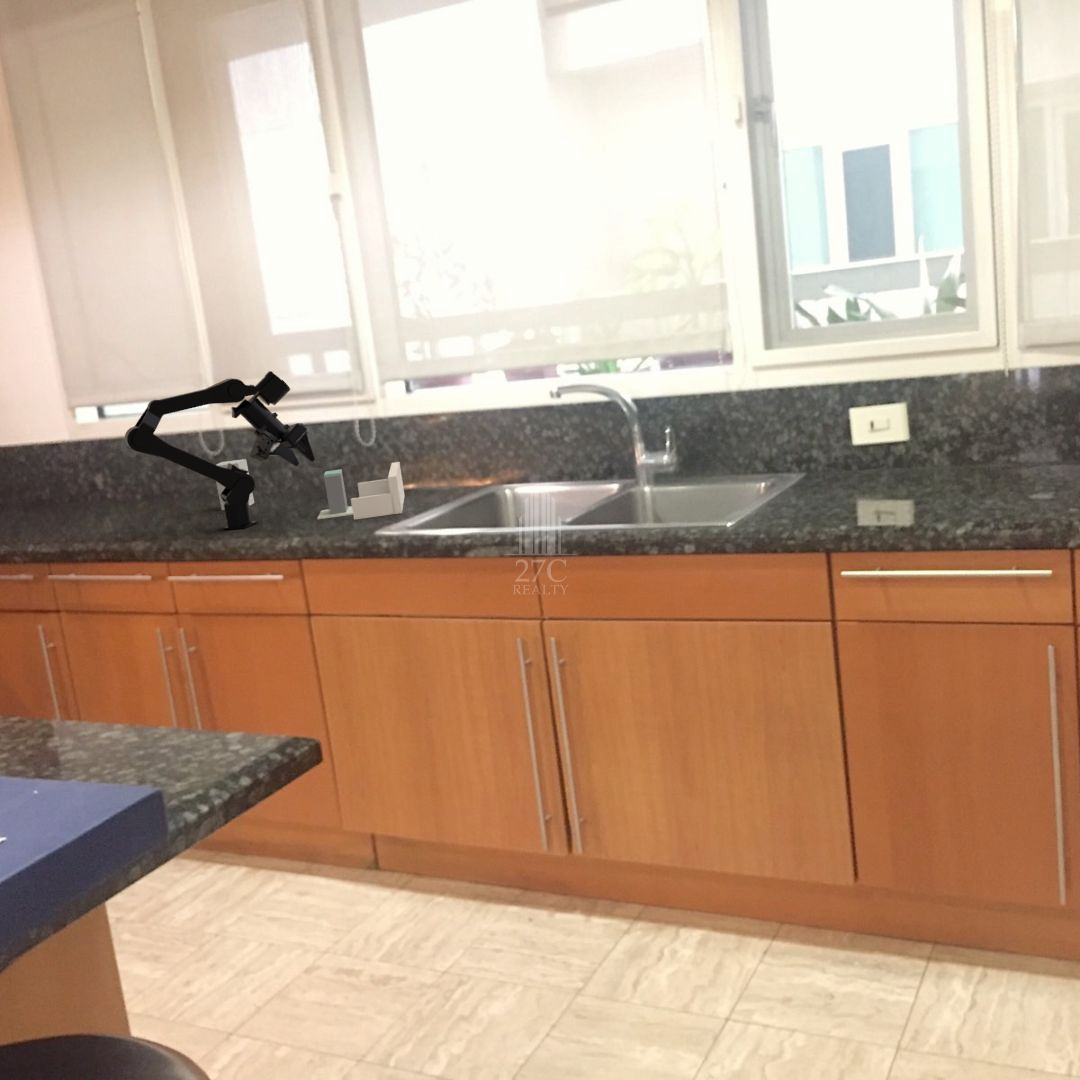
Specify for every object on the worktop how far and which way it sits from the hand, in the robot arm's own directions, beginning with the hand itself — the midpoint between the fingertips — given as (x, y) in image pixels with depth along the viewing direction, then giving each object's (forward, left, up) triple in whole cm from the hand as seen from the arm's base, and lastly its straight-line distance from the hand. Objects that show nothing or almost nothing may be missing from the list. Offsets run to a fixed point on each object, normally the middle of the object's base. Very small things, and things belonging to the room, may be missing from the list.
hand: (305, 463), depth 301 cm
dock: (0, -18, -13) cm, 22 cm away
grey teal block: (-3, -9, -12) cm, 16 cm away
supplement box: (+18, +32, -13) cm, 39 cm away
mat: (-3, -9, -13) cm, 16 cm away
